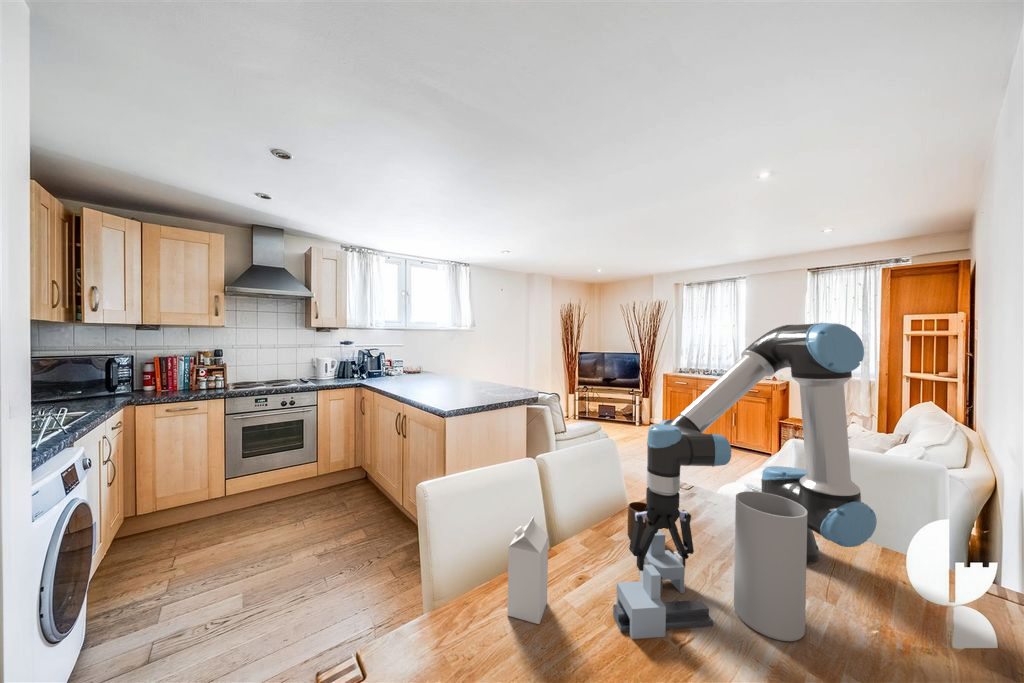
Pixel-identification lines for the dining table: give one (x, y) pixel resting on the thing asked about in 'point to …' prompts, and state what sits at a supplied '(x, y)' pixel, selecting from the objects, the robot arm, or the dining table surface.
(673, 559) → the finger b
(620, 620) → the rail
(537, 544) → the milk carton
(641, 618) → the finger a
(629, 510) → the mug
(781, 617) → the cylinder vase
